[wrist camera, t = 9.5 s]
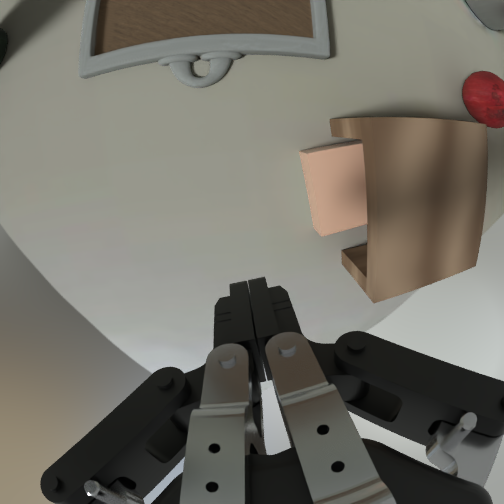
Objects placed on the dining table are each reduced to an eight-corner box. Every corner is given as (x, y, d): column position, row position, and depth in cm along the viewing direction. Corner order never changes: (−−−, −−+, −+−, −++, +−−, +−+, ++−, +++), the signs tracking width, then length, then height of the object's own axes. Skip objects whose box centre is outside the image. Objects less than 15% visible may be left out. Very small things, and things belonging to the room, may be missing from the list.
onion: (464, 134, 20) (522, 146, 13) (440, 88, 18) (501, 89, 11) (484, 107, 18) (536, 115, 11) (461, 64, 16) (516, 62, 9)
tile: (423, 131, 20) (439, 134, 18) (427, 195, 23) (442, 202, 21) (297, 150, 20) (306, 153, 18) (312, 226, 23) (321, 236, 21)
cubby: (438, 118, 19) (486, 124, 13) (437, 239, 25) (475, 265, 19) (329, 119, 19) (370, 117, 13) (341, 263, 24) (373, 303, 19)
